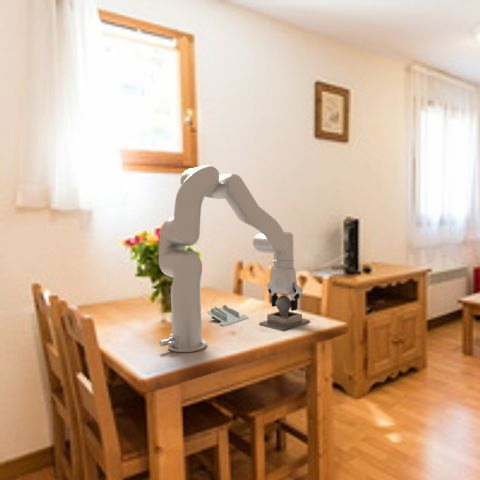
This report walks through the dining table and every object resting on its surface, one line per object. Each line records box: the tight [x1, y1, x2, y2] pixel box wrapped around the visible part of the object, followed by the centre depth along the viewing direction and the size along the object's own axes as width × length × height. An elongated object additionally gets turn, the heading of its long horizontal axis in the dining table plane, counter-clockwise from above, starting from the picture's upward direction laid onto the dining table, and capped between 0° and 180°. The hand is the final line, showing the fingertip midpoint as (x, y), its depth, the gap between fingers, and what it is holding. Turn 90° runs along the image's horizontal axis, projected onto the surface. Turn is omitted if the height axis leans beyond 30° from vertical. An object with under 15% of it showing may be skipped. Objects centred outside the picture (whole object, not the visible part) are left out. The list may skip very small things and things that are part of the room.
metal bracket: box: [206, 304, 249, 327], centre depth 167 cm, size 14×6×15 cm
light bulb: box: [275, 295, 292, 318], centre depth 159 cm, size 6×6×10 cm
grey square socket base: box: [258, 310, 311, 332], centre depth 159 cm, size 16×12×4 cm
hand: (284, 308), depth 159 cm, fingers open, 9 cm apart
